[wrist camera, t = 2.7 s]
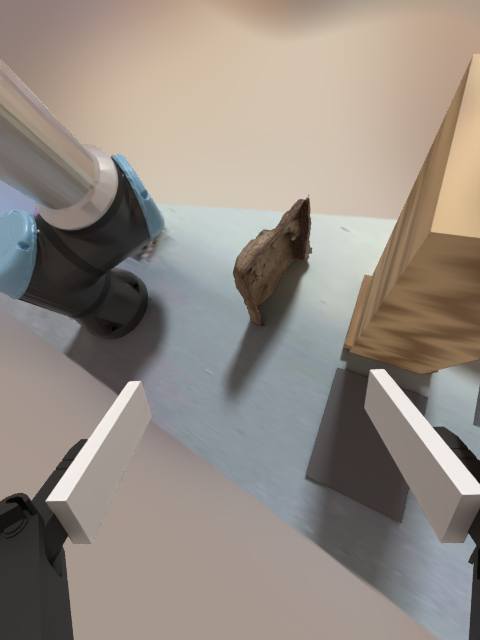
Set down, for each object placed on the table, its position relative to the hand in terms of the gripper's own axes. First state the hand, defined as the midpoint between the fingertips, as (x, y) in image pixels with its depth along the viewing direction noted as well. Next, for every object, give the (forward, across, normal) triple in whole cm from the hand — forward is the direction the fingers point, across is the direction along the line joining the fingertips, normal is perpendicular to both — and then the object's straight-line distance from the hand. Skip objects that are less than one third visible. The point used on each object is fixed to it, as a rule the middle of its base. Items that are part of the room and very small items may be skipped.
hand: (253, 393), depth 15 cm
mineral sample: (+33, +5, -4) cm, 34 cm away
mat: (+14, +15, -21) cm, 29 cm away
